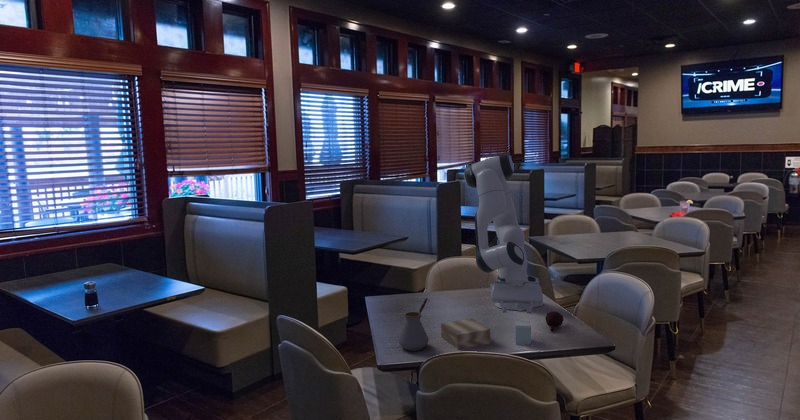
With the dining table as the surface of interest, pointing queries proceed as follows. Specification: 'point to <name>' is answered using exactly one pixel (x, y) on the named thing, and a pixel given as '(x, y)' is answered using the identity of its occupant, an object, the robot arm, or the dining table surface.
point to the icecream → (554, 320)
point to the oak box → (465, 333)
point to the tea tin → (522, 332)
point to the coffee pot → (413, 331)
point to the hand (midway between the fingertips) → (516, 312)
